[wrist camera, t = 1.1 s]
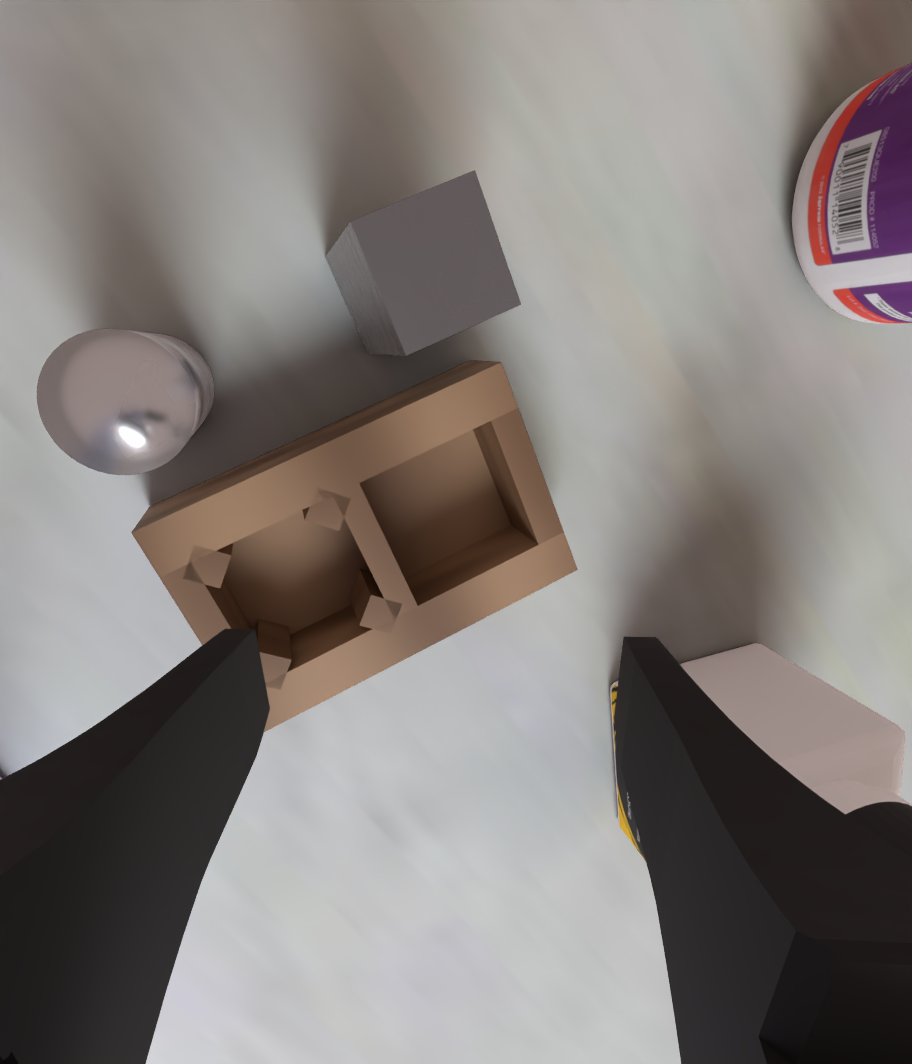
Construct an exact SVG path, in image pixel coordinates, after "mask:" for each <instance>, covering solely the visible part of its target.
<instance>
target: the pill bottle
mask: <svg viewBox="0 0 912 1064" xmlns="http://www.w3.org/2000/svg"><path fill="white" fill-rule="evenodd" d="M792 229H793V238H794V243H795V249H796V253H797V257H798V260H799V263H800V266H801V268H802V271H803V273H804V275H805V277H806V279H807V281H808V282H809V284H810V286H811V287H812V289H813V290H814V291H815V293H816V294H817V295H818V296H819V297H820V299H821V300H822V301H823V302H825V303H826V304H827V305H828V306H829V307H830V308H832V309H833V310H835V311H836V312H838V313H840V314H842V315H844V316H846V317H848V318H851V319H853V320H857V321H861V322H866V323H880V324H881V323H912V63H910V64H908V65H906V66H903V67H901V68H899V69H896V70H894V71H892V72H890V73H888V74H886V75H884V76H882V77H880V78H878V79H876V80H874V81H872V82H870V83H868V84H866V85H865V86H863V87H861V88H860V89H859V90H857V91H856V92H854V93H853V94H852V95H851V96H849V97H848V98H847V99H846V100H845V101H844V102H843V103H842V104H841V105H840V106H839V107H838V108H837V109H836V110H835V111H834V112H833V114H832V115H831V116H830V117H829V119H828V120H827V121H826V123H825V124H824V125H823V127H822V128H821V130H820V131H819V132H818V134H817V136H816V137H815V139H814V141H813V143H812V144H811V146H810V148H809V150H808V153H807V155H806V157H805V159H804V162H803V165H802V167H801V171H800V174H799V177H798V180H797V185H796V189H795V194H794V201H793V211H792Z"/></svg>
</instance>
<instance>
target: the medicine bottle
mask: <svg viewBox="0 0 912 1064" xmlns="http://www.w3.org/2000/svg"><path fill="white" fill-rule="evenodd" d="M680 665H681V666H682V668H683V669H684V670H685V671H686V672H687V673H688V675H689V676H690V677H691V678H692V679H693V680H694V681H695V682H696V684H697V685H698V686H699V687H700V688H701V689H702V690H703V691H704V692H705V694H706V695H707V696H708V697H709V698H710V699H711V700H712V701H713V702H714V703H715V704H716V705H717V706H718V707H719V708H720V709H721V710H722V711H723V713H724V714H725V715H726V716H727V717H728V718H729V719H730V720H731V721H732V722H733V723H734V724H735V725H736V726H737V727H738V728H739V729H740V730H742V731H743V732H744V733H745V734H746V735H747V736H748V737H749V738H750V739H751V740H752V741H753V742H754V743H755V744H756V745H758V746H759V747H760V748H761V749H762V750H763V751H764V752H765V753H767V754H768V755H769V756H770V757H771V758H772V759H773V760H775V761H776V762H777V763H778V764H780V765H781V766H782V767H783V768H784V769H786V770H787V771H788V772H789V773H791V774H792V775H793V776H794V777H796V778H797V779H798V780H799V781H801V782H802V783H803V784H804V785H806V786H807V787H808V788H809V789H811V790H812V791H813V792H815V793H816V794H818V795H819V796H820V797H822V798H823V799H824V800H826V801H827V802H828V803H830V804H831V805H833V806H834V807H836V808H837V809H838V810H840V811H841V812H843V813H844V814H846V815H847V816H848V817H850V818H851V819H853V820H854V821H856V822H857V823H859V824H860V825H861V826H863V827H865V828H866V829H868V830H869V831H871V832H872V833H874V834H875V835H877V836H879V837H880V838H882V839H883V840H885V841H886V842H888V843H889V844H891V845H893V846H894V847H896V848H898V849H899V850H901V851H903V852H904V853H906V854H908V855H909V856H911V857H912V805H911V804H909V803H908V802H906V801H905V800H904V799H902V798H901V797H900V792H901V781H902V770H903V758H904V747H905V733H904V731H903V730H902V729H901V728H900V727H899V726H898V725H896V724H895V723H893V722H891V721H890V720H888V719H886V718H885V717H883V716H881V715H880V714H878V713H876V712H875V711H873V710H871V709H870V708H868V707H866V706H864V705H863V704H861V703H859V702H858V701H856V700H854V699H853V698H851V697H849V696H848V695H846V694H844V693H843V692H841V691H839V690H838V689H836V688H834V687H833V686H831V685H829V684H827V683H826V682H824V681H822V680H821V679H819V678H817V677H816V676H814V675H812V674H811V673H809V672H807V671H806V670H804V669H802V668H801V667H799V666H797V665H796V664H794V663H792V662H791V661H789V660H787V659H785V658H784V657H782V656H780V655H779V654H777V653H775V652H774V651H772V650H770V649H769V648H767V647H765V646H764V645H762V644H758V643H754V644H750V645H747V646H743V647H739V648H736V649H732V650H728V651H725V652H721V653H717V654H714V655H710V656H707V657H703V658H699V659H696V660H692V661H688V662H685V663H681V664H680ZM617 688H618V681H616V682H614V683H613V684H612V686H611V688H610V697H611V713H612V728H613V744H614V759H615V775H616V791H617V806H618V821H619V824H620V827H621V829H622V830H623V831H624V833H625V834H626V835H627V837H628V838H629V839H630V841H631V842H632V843H633V845H634V846H635V847H636V849H637V850H638V851H639V853H640V854H641V855H642V857H643V858H644V860H645V861H646V859H645V856H644V852H643V848H642V845H641V841H640V837H639V834H638V830H637V826H636V823H635V819H634V815H633V812H632V808H631V804H630V801H629V797H628V793H627V789H626V785H625V782H624V778H623V774H622V770H621V766H620V759H619V753H618V746H617V739H616V731H615V724H614V713H615V704H616V696H617Z"/></svg>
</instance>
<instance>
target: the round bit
mask: <svg viewBox="0 0 912 1064" xmlns="http://www.w3.org/2000/svg"><path fill="white" fill-rule="evenodd" d="M214 393H215V392H214V381H213V377H212V374H211V371H210V369H209V367H208V365H207V364H206V362H205V360H204V359H203V358H202V357H201V355H200V354H199V353H198V352H197V351H196V350H195V349H194V348H192V347H191V346H190V345H188V344H187V343H185V342H183V341H182V340H179V339H177V338H175V337H171V336H168V335H163V334H156V333H147V332H138V331H130V330H121V329H97V330H91V331H87V332H84V333H81V334H78V335H76V336H74V337H72V338H70V339H68V340H67V341H65V342H64V343H62V344H61V345H60V346H59V347H57V348H56V349H55V350H54V351H53V352H52V354H51V355H50V356H49V358H48V359H47V360H46V362H45V364H44V366H43V368H42V370H41V373H40V376H39V380H38V385H37V404H38V409H39V413H40V417H41V419H42V422H43V424H44V426H45V428H46V430H47V432H48V433H49V435H50V436H51V438H52V439H53V440H54V442H55V443H56V444H57V445H58V446H59V447H60V448H61V449H62V450H63V451H64V452H65V453H66V454H67V455H69V456H70V457H71V458H73V459H74V460H76V461H77V462H79V463H81V464H83V465H85V466H87V467H89V468H91V469H94V470H97V471H100V472H104V473H108V474H116V475H133V474H140V473H145V472H148V471H151V470H154V469H157V468H159V467H160V466H162V465H164V464H166V463H167V462H169V461H170V460H171V459H173V458H174V457H175V456H176V455H177V454H178V453H179V452H180V451H181V450H182V448H183V447H184V446H185V445H186V443H187V442H188V441H189V439H190V438H191V437H192V436H193V434H194V433H195V432H196V430H197V429H198V428H199V427H200V425H201V424H202V423H203V421H204V420H205V419H206V418H207V416H208V414H209V412H210V410H211V408H212V405H213V401H214Z"/></svg>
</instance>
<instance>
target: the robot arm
mask: <svg viewBox="0 0 912 1064" xmlns="http://www.w3.org/2000/svg"><path fill="white" fill-rule="evenodd" d="M269 711H270V705H269V700H268V695H267V689H266V684H265V679H264V673H263V668H262V663H261V657H260V652H259V647H258V641H257V636H256V631H255V629H224V630H223V631H221V632H220V633H218V634H217V635H216V636H214V637H213V638H212V639H210V640H209V641H208V642H206V643H205V644H204V645H202V646H201V647H200V648H199V649H197V650H196V651H195V652H194V653H192V654H191V655H190V656H189V657H187V658H186V659H185V660H183V661H182V662H181V663H180V664H178V665H177V666H176V667H174V668H173V669H172V670H171V671H169V672H168V673H167V674H165V675H164V676H163V677H161V678H160V679H159V680H158V681H156V682H155V683H154V684H152V685H151V686H150V687H149V688H147V689H146V690H145V691H143V692H142V693H140V694H139V695H138V696H136V697H135V698H133V699H132V700H130V701H129V702H128V703H126V704H125V705H123V706H122V707H121V708H119V709H118V710H116V711H115V712H114V713H112V714H111V715H109V716H108V717H106V718H105V719H104V720H102V721H101V722H99V723H98V724H96V725H95V726H93V727H92V728H90V729H89V730H87V731H86V732H84V733H82V734H81V735H79V736H78V737H76V738H75V739H73V740H71V741H70V742H68V743H66V744H65V745H63V746H61V747H60V748H58V749H56V750H54V751H53V752H51V753H49V754H48V755H46V756H44V757H43V758H41V759H39V760H37V761H36V762H34V763H32V764H30V765H28V766H26V767H24V768H22V769H20V770H18V771H16V772H15V773H13V774H11V775H9V776H7V777H5V778H3V779H2V778H1V777H0V1064H145V1063H146V1060H147V1056H148V1053H149V1049H150V1045H151V1042H152V1038H153V1035H154V1031H155V1028H156V1024H157V1021H158V1017H159V1014H160V1010H161V1007H162V1003H163V1000H164V996H165V993H166V989H167V986H168V983H169V980H170V976H171V973H172V970H173V967H174V964H175V960H176V957H177V954H178V951H179V947H180V944H181V941H182V938H183V935H184V932H185V929H186V926H187V923H188V920H189V917H190V914H191V911H192V908H193V905H194V902H195V899H196V896H197V893H198V890H199V887H200V884H201V881H202V879H203V876H204V874H205V871H206V869H207V866H208V864H209V861H210V859H211V856H212V854H213V852H214V850H215V848H216V845H217V843H218V841H219V839H220V836H221V834H222V832H223V830H224V828H225V825H226V823H227V821H228V819H229V816H230V814H231V812H232V810H233V808H234V805H235V803H236V801H237V799H238V797H239V794H240V792H241V790H242V788H243V785H244V783H245V781H246V778H247V776H248V774H249V772H250V769H251V767H252V765H253V762H254V760H255V758H256V755H257V752H258V749H259V746H260V743H261V739H262V736H263V733H264V729H265V726H266V722H267V718H268V715H269ZM614 724H615V731H616V739H617V746H618V753H619V759H620V766H621V770H622V774H623V778H624V782H625V785H626V789H627V793H628V797H629V801H630V804H631V808H632V812H633V815H634V819H635V823H636V826H637V830H638V834H639V837H640V841H641V845H642V848H643V852H644V856H645V859H646V863H647V867H648V870H649V874H650V878H651V882H652V887H653V891H654V896H655V900H656V905H657V911H658V917H659V923H660V928H661V934H662V940H663V946H664V952H665V958H666V964H667V971H668V977H669V983H670V990H671V996H672V1003H673V1009H674V1015H675V1022H676V1029H677V1036H678V1043H679V1050H680V1057H681V1064H912V857H911V856H909V855H908V854H906V853H904V852H903V851H901V850H899V849H898V848H896V847H894V846H893V845H891V844H889V843H888V842H886V841H885V840H883V839H882V838H880V837H879V836H877V835H875V834H874V833H872V832H871V831H869V830H868V829H866V828H865V827H863V826H861V825H860V824H859V823H857V822H856V821H854V820H853V819H851V818H850V817H848V816H847V815H846V814H844V813H843V812H841V811H840V810H838V809H837V808H836V807H834V806H833V805H831V804H830V803H828V802H827V801H826V800H824V799H823V798H822V797H820V796H819V795H818V794H816V793H815V792H813V791H812V790H811V789H809V788H808V787H807V786H806V785H804V784H803V783H802V782H801V781H799V780H798V779H797V778H796V777H794V776H793V775H792V774H791V773H789V772H788V771H787V770H786V769H784V768H783V767H782V766H781V765H780V764H778V763H777V762H776V761H775V760H773V759H772V758H771V757H770V756H769V755H768V754H767V753H765V752H764V751H763V750H762V749H761V748H760V747H759V746H758V745H756V744H755V743H754V742H753V741H752V740H751V739H750V738H749V737H748V736H747V735H746V734H745V733H744V732H743V731H742V730H740V729H739V728H738V727H737V726H736V725H735V724H734V723H733V722H732V721H731V720H730V719H729V718H728V717H727V716H726V715H725V714H724V713H723V711H722V710H721V709H720V708H719V707H718V706H717V705H716V704H715V703H714V702H713V701H712V700H711V699H710V698H709V697H708V696H707V695H706V694H705V692H704V691H703V690H702V689H701V688H700V687H699V686H698V685H697V684H696V682H695V681H694V680H693V679H692V678H691V677H690V676H689V675H688V673H687V672H686V671H685V670H684V669H683V668H682V666H681V665H680V664H679V663H678V662H677V661H676V659H675V658H674V657H673V656H672V655H671V654H670V652H669V651H668V650H667V649H666V648H665V647H664V645H663V644H662V643H661V642H660V641H659V640H658V639H657V638H656V637H624V639H623V647H622V656H621V664H620V672H619V680H618V688H617V696H616V704H615V713H614Z"/></svg>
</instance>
